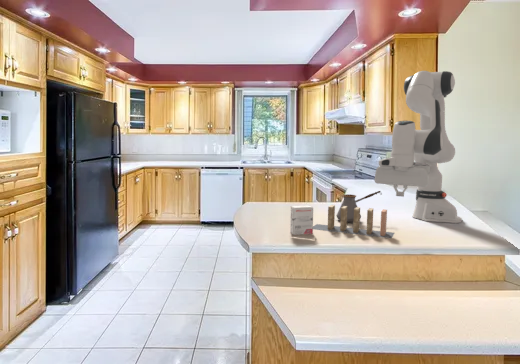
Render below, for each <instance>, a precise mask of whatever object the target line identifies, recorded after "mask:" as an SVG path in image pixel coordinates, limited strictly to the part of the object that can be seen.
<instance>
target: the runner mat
mask: <svg viewBox="0 0 520 364" xmlns="http://www.w3.org/2000/svg"><path fill="white" fill-rule="evenodd" d="M313 230H317V231H324V232H326V231H327V232H335V233H342V234H350V235H351V234H352V235H358V236H359V235H361V236H367V237H376V238H384V239H393V237H394V235H395V232H391V231H386V234H385V236H380V230H374V229H373V230H372V233H371V234H366V231H367V228H366V229H364V228H359V231H358V232H357V233H354V232H353V227H348V226H347V229H346V230H345V231H340V226H338V225H334V228H333V229H332V230H329V229H328V224H318V223H316V224H315V225H313Z"/></svg>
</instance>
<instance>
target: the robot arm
mask: <svg viewBox="0 0 520 364" xmlns="http://www.w3.org/2000/svg"><path fill="white" fill-rule="evenodd" d="M403 82H404V83H403V92H404V94H405V104H406V106H407V107H408V109H409V110H410V111H412V112H414V113H415V114H419V124H420V125H419V127H420V129H416V122H414V121H413V120H399V121H396V122H395V123H394V125H393V130H392V136H391V147H392V148H391V152H390V157H385V158H382V159H379V161H378V167H377V168H376V170H375V172H374V173H375V174H374V182H375V183H376V184H377V185H379V184H380V185H381V184H382V185H393V189H394V191H395V196H396V197H403V198H404V197H405V192H406V190H408V187H409V186H410V187H417V189H416V191H415V206H414V211H413V213H412V217H413V218H415V219H418V220H422V221H425V222H433V223H435V222H437V223H453V224H461V223H462V219H463V218H462V217H461V216H459V215H458V212H457V210H458V209H457V208H456V207H455V206H456V205H454V204H453V203H451V202H450V201H449V200H447V198H446V197H447V195H448V194H447V193H446V192H445V191H443V190H442V189H443V188H442V187H443V175H442V173H441V171H440V170H439V167H438V165H437V164H443V163H449V162H451V161H452V160H453V159H455V158H454V157H455V155H456V148H455V146H454V145H453V144H452V143H451V141H450V140H449V137H448V134H447V130H446V121H445V120H446V105H445V104H446V103H445V98H447V97H448V95H450V94H452V92H453V91H454V88H455V84H456V79H455V76H454V74H453V72H451V71H446V70H445V71H429V70H421V71H420V70H419V71H417V72H416V73H415V74H414V75H413V74H412V75H410V76H408V77H406V79H405V80H404V81H403ZM399 186H402V187H403V190H402V191H399V190H398V187H399Z"/></svg>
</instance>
